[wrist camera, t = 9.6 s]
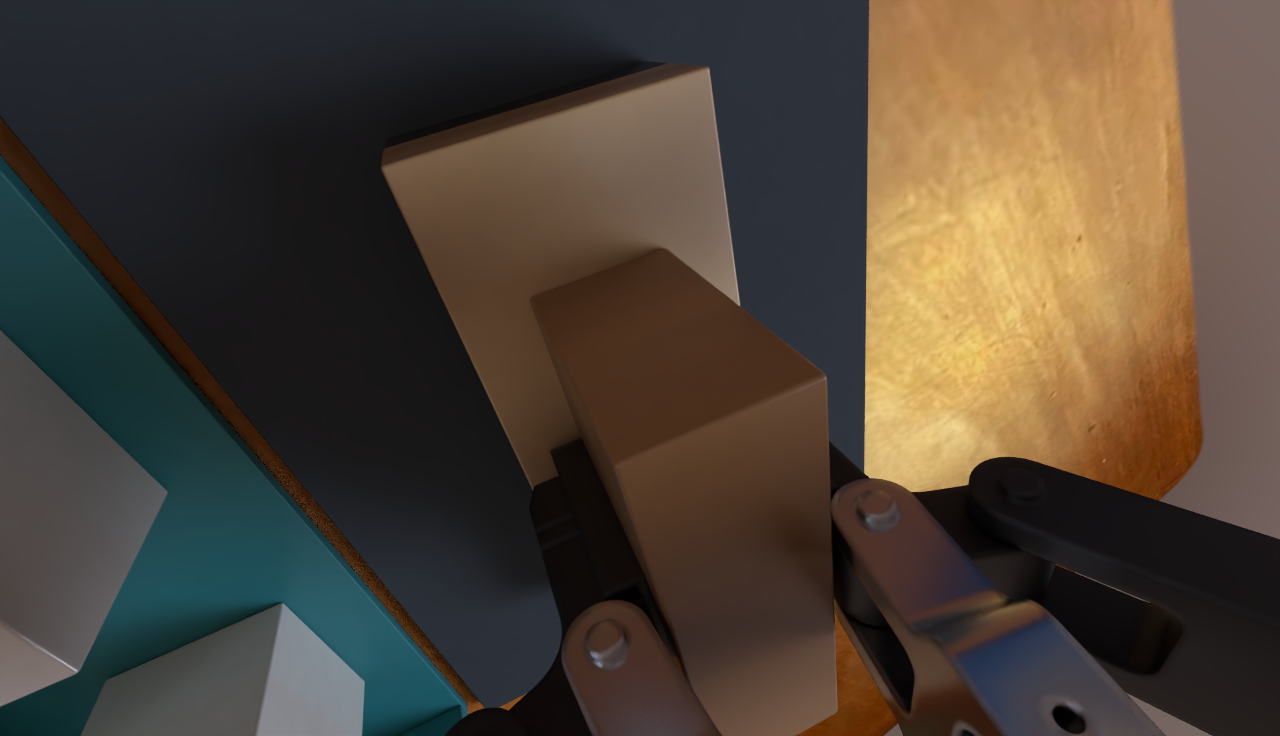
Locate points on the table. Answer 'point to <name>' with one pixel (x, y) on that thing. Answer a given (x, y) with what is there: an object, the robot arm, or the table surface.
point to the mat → (385, 249)
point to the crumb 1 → (60, 526)
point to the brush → (643, 365)
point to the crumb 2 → (237, 686)
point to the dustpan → (188, 502)
